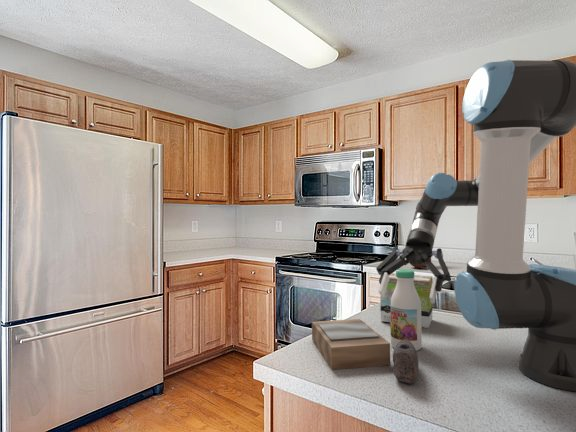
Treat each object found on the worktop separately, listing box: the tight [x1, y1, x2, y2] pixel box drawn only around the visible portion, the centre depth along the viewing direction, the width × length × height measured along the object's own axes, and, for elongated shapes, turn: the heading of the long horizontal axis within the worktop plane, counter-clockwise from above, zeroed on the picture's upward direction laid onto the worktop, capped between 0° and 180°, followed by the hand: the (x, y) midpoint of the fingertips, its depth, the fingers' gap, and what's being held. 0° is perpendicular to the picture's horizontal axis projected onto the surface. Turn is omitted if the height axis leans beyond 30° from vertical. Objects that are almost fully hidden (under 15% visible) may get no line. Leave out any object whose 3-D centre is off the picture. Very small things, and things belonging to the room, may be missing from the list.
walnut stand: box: [311, 318, 391, 371], centre depth 92 cm, size 20×14×5 cm
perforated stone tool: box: [392, 340, 419, 385], centre depth 79 cm, size 15×5×7 cm, turn 160°
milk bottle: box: [390, 269, 423, 352], centre depth 94 cm, size 8×8×20 cm
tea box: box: [379, 272, 434, 329], centre depth 117 cm, size 15×10×15 cm
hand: (405, 297), depth 96 cm, fingers open, 13 cm apart
